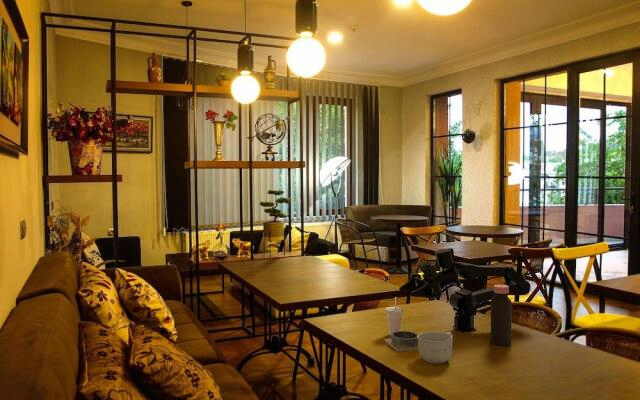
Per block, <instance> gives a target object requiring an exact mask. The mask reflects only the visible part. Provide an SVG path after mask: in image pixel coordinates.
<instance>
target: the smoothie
mask: <svg viewBox="0 0 640 400" xmlns="http://www.w3.org/2000/svg"><path fill="white" fill-rule="evenodd" d="M385 312H386V317H387V324H388V332H389V334H388V335H389V337H391V335H392V333H394V332H397V331H401V326H402V317H403V313H404V308H403V307H400V306H397V296H395V297H394V306H388V307H386V308H385Z"/></svg>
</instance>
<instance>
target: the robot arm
mask: <svg viewBox="0 0 640 400" xmlns="http://www.w3.org/2000/svg"><path fill="white" fill-rule="evenodd" d="M434 255H435V258H436V262H437V264H435V263H433V264H432V263H431V262H430V261H428V260H425V259H424V260H423V261H421V262H420V263H419V264H418V265H417V267H418V268H419V269H420V271H421V272H422V274H420V273H417V272H415V271H414V272H412V273H409V279H408V280H407V282H405V283H404V284H403V285H401V286H400V287H399V288H398V289H399V291H400V292H410V293H409V296H410V297H413V298H423V299H424V298H426V299H432V300H433V299H434V300H437V299H440V298H441V297H442V295H443V293H442V290H444V289H445V287H447V286H449V285H453V286H454V287H456V288H460V285H461V283H462V280H460V279H459V278H461V279H463V280H467V281H470V280H474V279H478V278H480V277H502V278H503V280H504V282H503V283H502V284H501V285H507V286H509V294H508V296H520V297H521V296H527V295H529V294H530V291H531V289H532V287H531V286H532V285H531V283H530V282H529V281H528V280H526V279H525V278H524V277H523V276H522V275H521V274H520V273H519V272H517V270H515V268H514V267H513V266H510V265H506V264H503V265H477V264H471V263H467V262H461V261H459V262H458V261H456V257H455V251H454V249H453V248H451V247H449V248H442V249H441V248H439V249H437V250H435V251H434ZM437 265H438V266H437ZM438 268H441V270H440V271H437V270H438ZM494 296H495V294H494V286H492V287H491V286H490V287H487V288H483V289H480V290H476V291H471V290H468V289H466V288H462V289H460V290H454V292H452V293H451V294H450V296H449V299H448V303H449V305H450V306H451V308H452V310H453V311H455V312H454V317H453V325H452V327H453V329H455V330H456V331H457V330H458V331H460V332H463V333H464V332H471V331H477V328H475V316H476V315H477V312H478V309H477V308H476V307H475V306H477V305H478V304H481V303H485V302H489V301H491V299H492V298H493V297H494Z"/></svg>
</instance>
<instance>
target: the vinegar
mask: <svg viewBox="0 0 640 400" xmlns="http://www.w3.org/2000/svg"><path fill="white" fill-rule="evenodd" d="M493 287H494V294H495V296H494V297H493V298H492V299H491V300H490V343H491V344H493V345H495V346H500V347H501V346H502V347H507V346H510V345H512V330H513V329H512V323H513V322H512V316H513V315H512V313H513V312H512V311H513V310H512V309H513V307H512V306H513V305H512V300H511V298H510V297H509V295H508V294H509V286H507V285H502V284H494V285H493Z"/></svg>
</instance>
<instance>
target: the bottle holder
mask: <svg viewBox="0 0 640 400" xmlns="http://www.w3.org/2000/svg"><path fill="white" fill-rule="evenodd" d="M418 335H419V334H418V333H417V332H414V331H410V330H408V331H407V330H400V331H397V332H394V333H392V335H391V336H390V338H384V339H383V341H384V343H386V344H387V345H389V346H390V347H391V348H392V349H393V350H395V351H396V352H405V351H406V352H407V351H413V350H418V339H417V336H418Z"/></svg>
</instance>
